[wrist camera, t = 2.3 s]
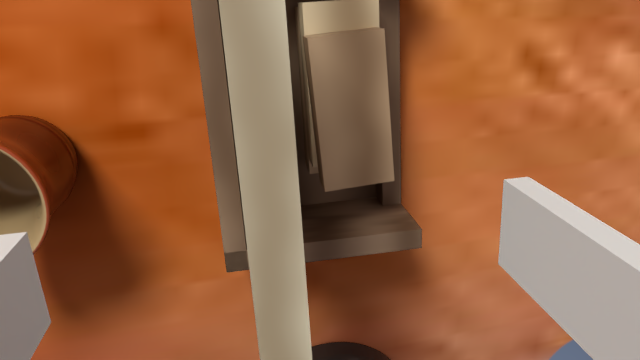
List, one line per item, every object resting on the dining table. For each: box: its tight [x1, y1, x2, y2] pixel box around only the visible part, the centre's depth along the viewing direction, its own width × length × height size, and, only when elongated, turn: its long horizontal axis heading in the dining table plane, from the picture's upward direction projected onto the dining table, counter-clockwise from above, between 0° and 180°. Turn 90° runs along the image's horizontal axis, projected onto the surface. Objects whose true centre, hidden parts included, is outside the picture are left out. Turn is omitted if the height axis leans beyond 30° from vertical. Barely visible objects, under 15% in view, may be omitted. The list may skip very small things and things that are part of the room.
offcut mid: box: [298, 0, 379, 167], centre depth 37 cm, size 5×11×2 cm, turn 3°
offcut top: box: [303, 27, 394, 192], centre depth 35 cm, size 5×10×2 cm, turn 6°
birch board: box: [219, 0, 312, 360], centre depth 29 cm, size 2×16×23 cm, turn 4°
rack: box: [191, 0, 422, 272], centre depth 37 cm, size 14×22×8 cm, turn 3°
